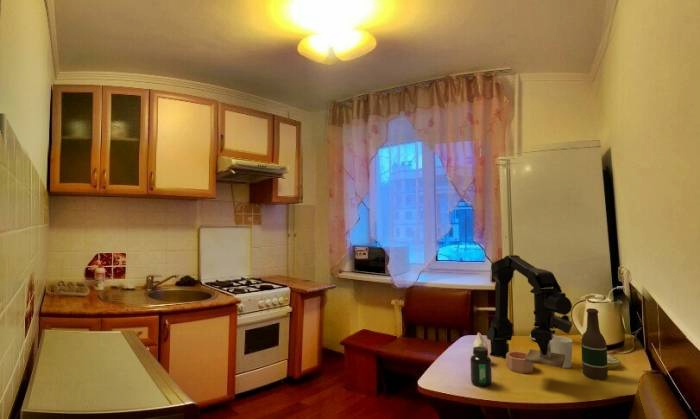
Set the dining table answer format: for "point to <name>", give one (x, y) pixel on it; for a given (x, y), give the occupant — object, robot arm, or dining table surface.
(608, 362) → the decorated donut
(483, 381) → the supplement bottle
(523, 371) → the terracotta bowl
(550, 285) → the robot arm
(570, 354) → the white cup
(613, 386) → the dining table surface
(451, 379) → the dining table surface
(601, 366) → the beer bottle
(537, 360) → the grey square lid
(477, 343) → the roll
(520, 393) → the dining table surface
